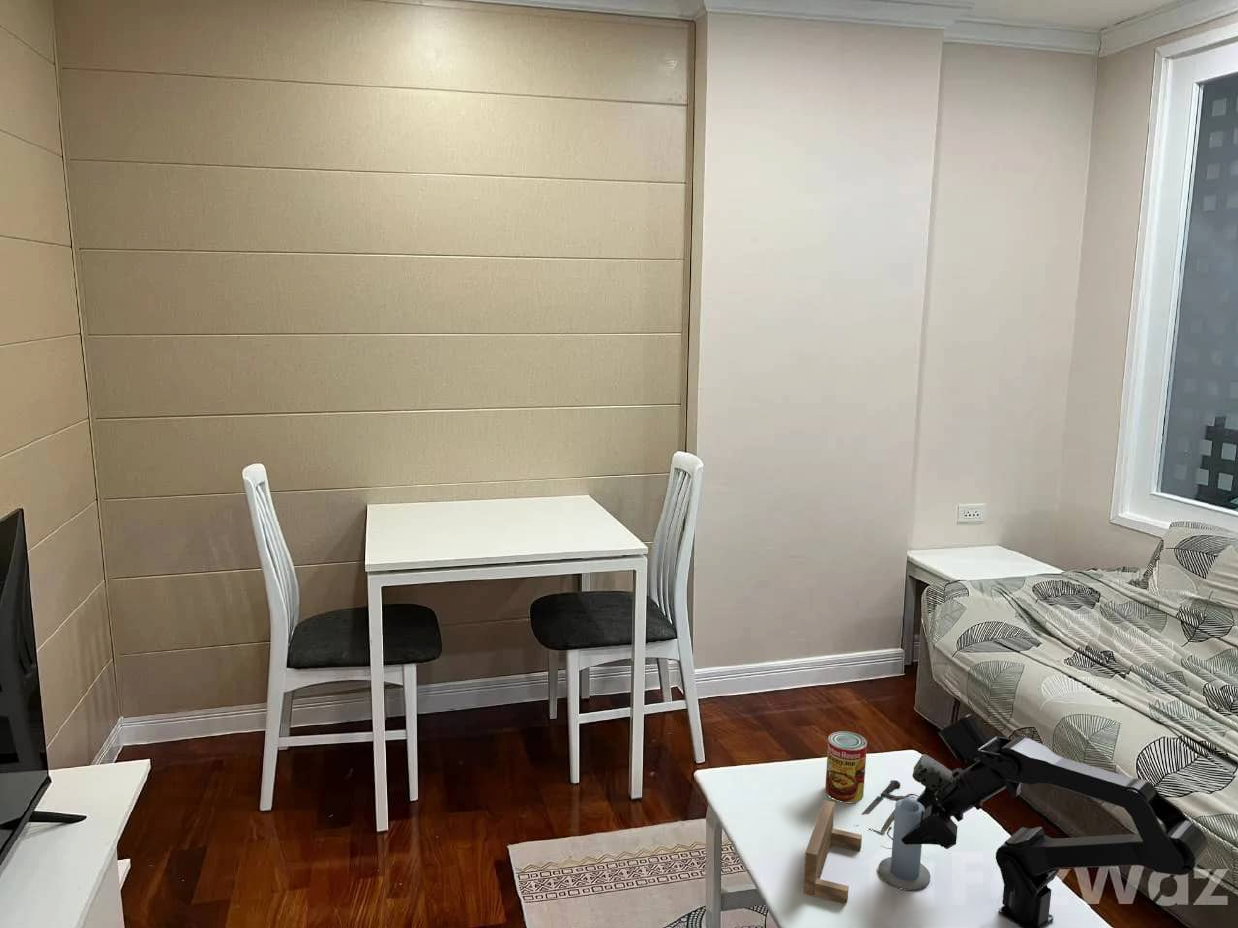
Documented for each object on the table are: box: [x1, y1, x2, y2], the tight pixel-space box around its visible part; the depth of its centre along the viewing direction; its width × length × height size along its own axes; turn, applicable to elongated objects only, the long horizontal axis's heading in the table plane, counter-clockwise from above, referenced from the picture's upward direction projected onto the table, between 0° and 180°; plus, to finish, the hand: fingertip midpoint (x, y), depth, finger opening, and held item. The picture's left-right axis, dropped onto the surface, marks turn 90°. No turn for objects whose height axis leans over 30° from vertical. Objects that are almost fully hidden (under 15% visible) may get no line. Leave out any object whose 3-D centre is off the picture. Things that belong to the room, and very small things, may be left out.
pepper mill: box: [890, 796, 925, 880], centre depth 167 cm, size 5×5×15 cm
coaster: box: [877, 856, 931, 891], centre depth 169 cm, size 9×9×1 cm
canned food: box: [824, 730, 868, 803], centre depth 195 cm, size 8×8×12 cm
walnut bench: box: [802, 799, 863, 905], centre depth 170 cm, size 8×18×8 cm, turn 158°
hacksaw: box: [853, 779, 920, 850], centre depth 188 cm, size 24×10×2 cm, turn 141°
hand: (905, 827), depth 167 cm, fingers open, 9 cm apart
